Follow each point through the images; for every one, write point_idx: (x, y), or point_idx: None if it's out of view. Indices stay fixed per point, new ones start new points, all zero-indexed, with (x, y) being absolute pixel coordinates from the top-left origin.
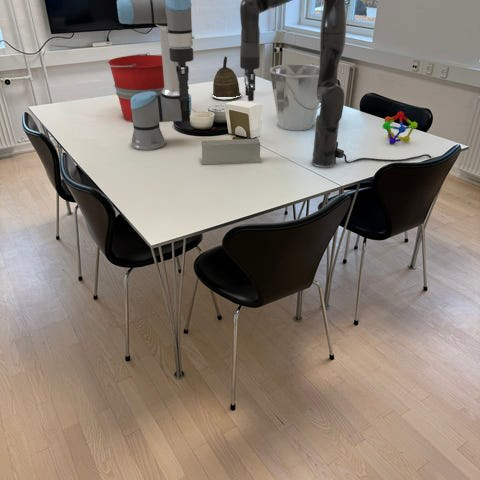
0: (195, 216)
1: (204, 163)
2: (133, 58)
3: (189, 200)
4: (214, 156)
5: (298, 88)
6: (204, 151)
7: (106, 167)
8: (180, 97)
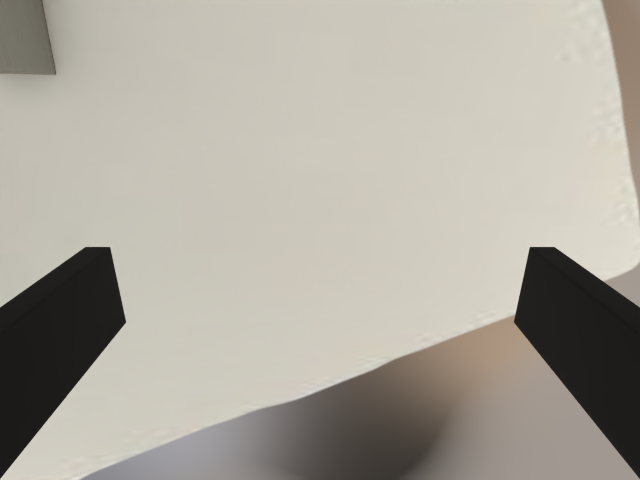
0: (531, 137)
1: (51, 65)
2: None
3: (405, 152)
4: (16, 4)
5: None
6: (7, 60)
7: (116, 408)
8: (46, 413)
